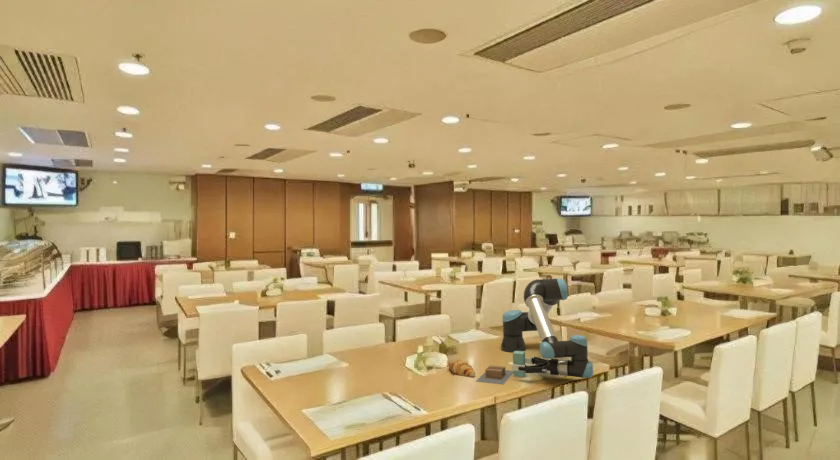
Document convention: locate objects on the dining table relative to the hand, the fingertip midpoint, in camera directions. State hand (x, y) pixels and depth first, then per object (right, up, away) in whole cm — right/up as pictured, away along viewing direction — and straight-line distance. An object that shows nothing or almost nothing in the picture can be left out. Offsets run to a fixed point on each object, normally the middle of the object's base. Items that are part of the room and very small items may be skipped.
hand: (515, 363), depth 233 cm
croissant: (-27, -8, +8) cm, 29 cm away
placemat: (-10, -7, 0) cm, 12 cm away
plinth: (-10, -6, 0) cm, 12 cm away
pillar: (+2, -6, -1) cm, 7 cm away
